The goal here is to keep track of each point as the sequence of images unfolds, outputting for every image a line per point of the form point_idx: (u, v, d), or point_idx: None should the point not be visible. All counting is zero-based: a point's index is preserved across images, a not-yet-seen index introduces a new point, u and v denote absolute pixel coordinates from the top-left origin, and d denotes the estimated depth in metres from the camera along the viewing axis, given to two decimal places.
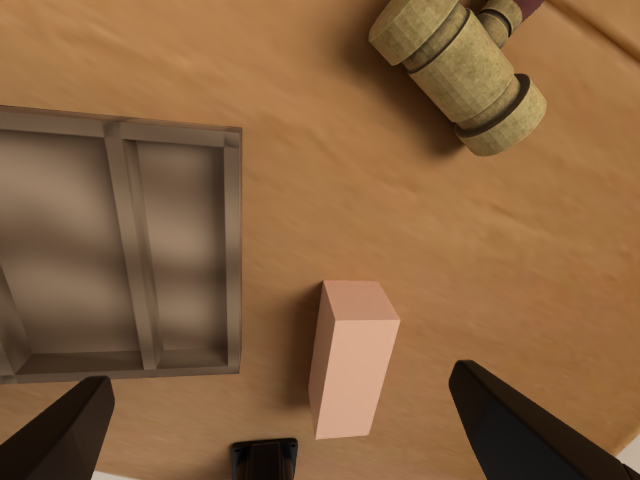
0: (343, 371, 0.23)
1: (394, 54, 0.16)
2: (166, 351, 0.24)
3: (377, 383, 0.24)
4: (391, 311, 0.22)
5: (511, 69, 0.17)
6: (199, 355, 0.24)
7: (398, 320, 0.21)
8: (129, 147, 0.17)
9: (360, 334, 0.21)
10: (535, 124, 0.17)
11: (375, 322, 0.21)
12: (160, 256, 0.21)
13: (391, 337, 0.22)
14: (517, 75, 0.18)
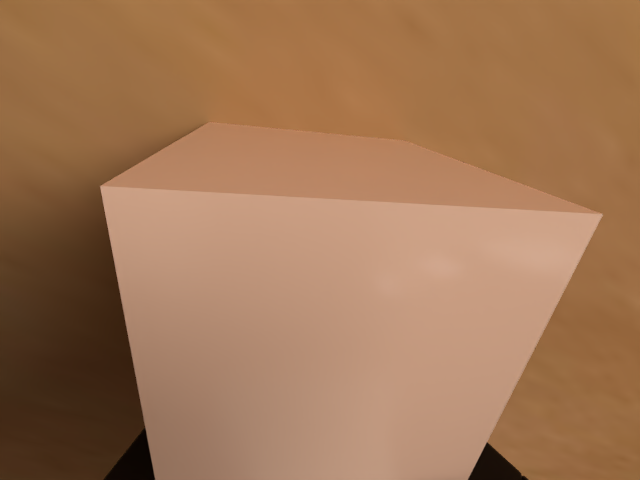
0: None
1: None
2: None
3: None
4: (513, 187, 0.04)
5: None
6: None
7: (588, 219, 0.03)
8: None
9: (334, 317, 0.03)
10: None
11: (434, 223, 0.03)
12: None
13: (517, 335, 0.04)
14: None
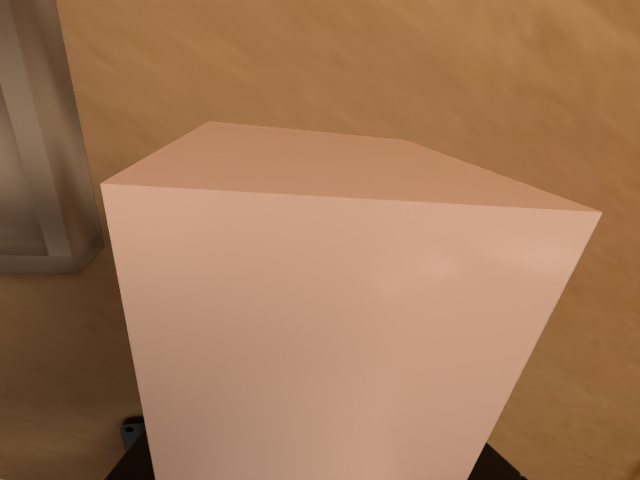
0: None
1: None
2: None
3: None
4: (513, 185, 0.04)
5: None
6: (4, 241, 0.13)
7: (587, 217, 0.03)
8: None
9: (334, 315, 0.03)
10: None
11: (434, 222, 0.03)
12: None
13: (517, 334, 0.04)
14: None
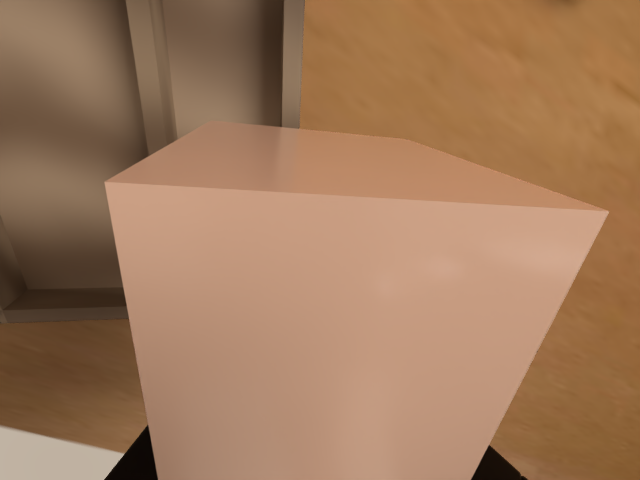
0: None
1: None
2: None
3: None
4: (518, 184, 0.04)
5: None
6: None
7: (594, 216, 0.03)
8: None
9: (339, 314, 0.03)
10: None
11: (441, 221, 0.03)
12: None
13: (523, 333, 0.04)
14: None
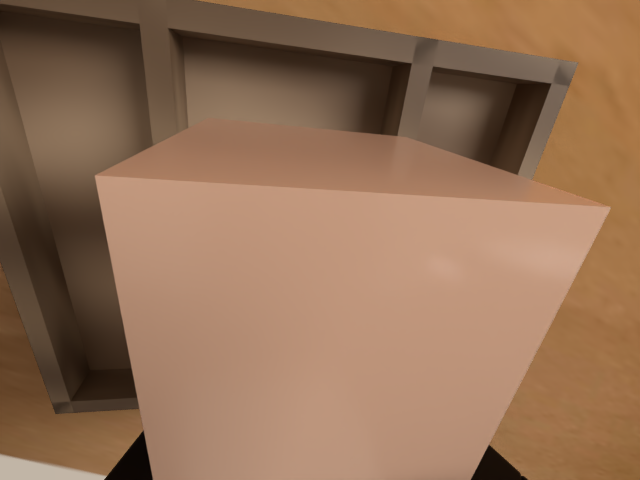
0: None
1: None
2: None
3: None
4: (518, 180, 0.04)
5: None
6: None
7: (596, 212, 0.03)
8: None
9: (336, 312, 0.03)
10: None
11: (440, 216, 0.03)
12: None
13: (523, 332, 0.04)
14: None
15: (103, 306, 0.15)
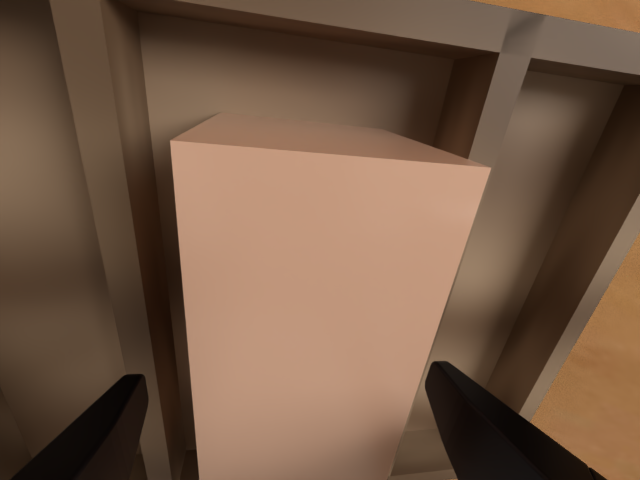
0: (258, 394, 0.06)
1: None
2: None
3: (386, 430, 0.07)
4: (443, 154, 0.05)
5: None
6: (434, 444, 0.15)
7: (482, 171, 0.05)
8: None
9: (313, 236, 0.05)
10: None
11: (377, 170, 0.04)
12: None
13: (443, 257, 0.05)
14: None
15: (45, 388, 0.11)
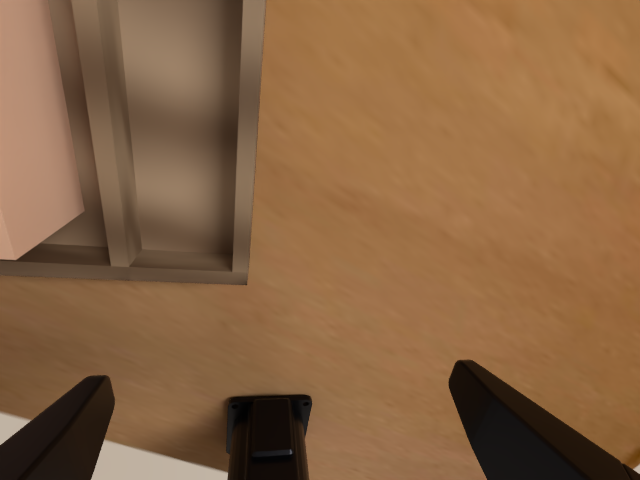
0: None
1: None
2: (145, 251, 0.17)
3: None
4: None
5: None
6: (192, 258, 0.17)
7: None
8: None
9: None
10: None
11: None
12: (139, 88, 0.14)
13: None
14: None
15: None
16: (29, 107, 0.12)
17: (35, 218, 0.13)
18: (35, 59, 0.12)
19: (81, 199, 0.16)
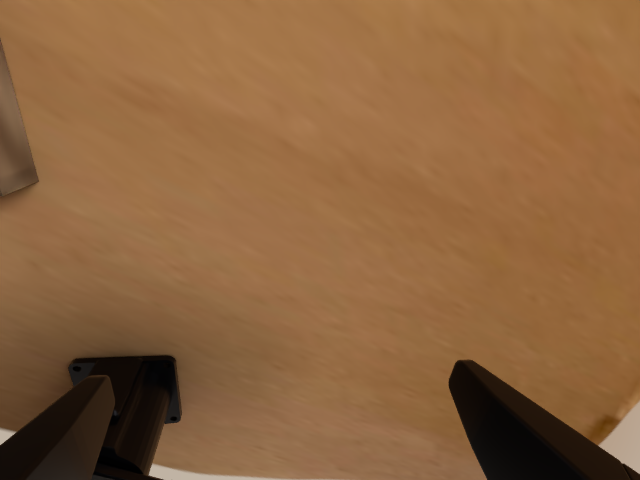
0: None
1: None
2: None
3: None
4: None
5: None
6: None
7: None
8: None
9: None
10: None
11: None
12: None
13: None
14: None
15: None
16: None
17: None
18: None
19: None
